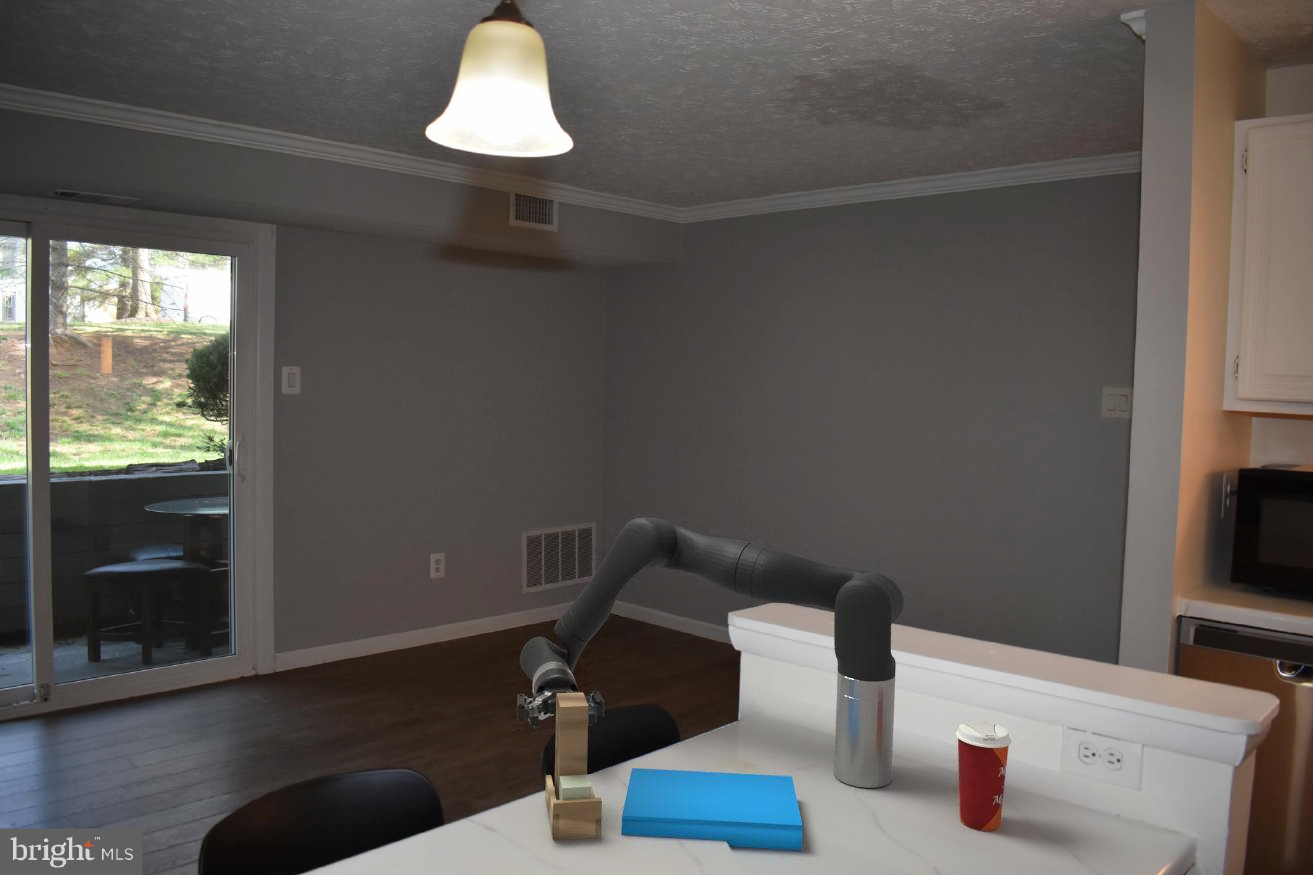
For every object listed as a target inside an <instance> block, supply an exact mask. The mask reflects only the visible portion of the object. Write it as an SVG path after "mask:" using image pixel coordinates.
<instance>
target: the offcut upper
mask: <svg viewBox="0 0 1313 875" xmlns="http://www.w3.org/2000/svg"><path fill="white" fill-rule="evenodd" d="M589 779H590V778H589V774H587V775H572V776H560V785H559V798H560V800H566V799H582V798H591V786H592V783H590V782H591V780H589Z"/></svg>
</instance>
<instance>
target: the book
mask: <svg viewBox="0 0 1313 875" xmlns="http://www.w3.org/2000/svg"><path fill="white" fill-rule="evenodd" d="M624 799H625V800H624V804H623V808H622V815H621V828H620V829H621V830H620V831H621V832H620V834H621V835H622V836H638V837H639V836H640V837H641V836H642V837H644V836H645V837H657V838H658V837H659V838H675V839H676V838H677V839H692V840H693V839H695V840H711V841H713V840H714V841H715V840H717V841H725V842H726V843H727V846H728V847H737V848H755V849H756V848H757V849H771V850H791V851H803V822H802V817H801V813H800V807H799V802H798V798H797V794H796V788H795V784H794V780H793V776H792V775H776V774H775V775H774V774H773V775H772V774H755V773H740V772H739V773H737V772H735V773H734V772H733V773H732V772H719V771H718V772H716V771H714V772H713V771H694V770H679V769H678V770H677V769H658V768H657V769H656V768H637V767H631V773H630V776H629V781H628V787H627V791H626V796H625V798H624Z"/></svg>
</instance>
